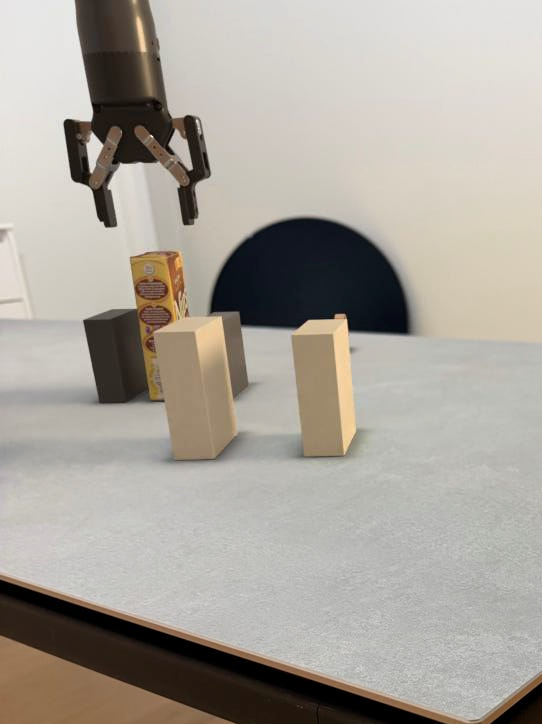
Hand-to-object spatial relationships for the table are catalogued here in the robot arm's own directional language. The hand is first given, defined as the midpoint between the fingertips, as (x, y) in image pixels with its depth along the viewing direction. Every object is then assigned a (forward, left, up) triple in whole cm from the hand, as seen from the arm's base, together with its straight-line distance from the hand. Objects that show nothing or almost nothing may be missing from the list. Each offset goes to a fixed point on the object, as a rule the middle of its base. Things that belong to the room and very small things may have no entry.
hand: (150, 226), depth 103 cm
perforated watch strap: (+16, +27, -18) cm, 36 cm away
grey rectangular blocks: (0, 0, -18) cm, 18 cm away
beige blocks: (+16, -25, -18) cm, 35 cm away
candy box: (0, 0, -18) cm, 18 cm away
